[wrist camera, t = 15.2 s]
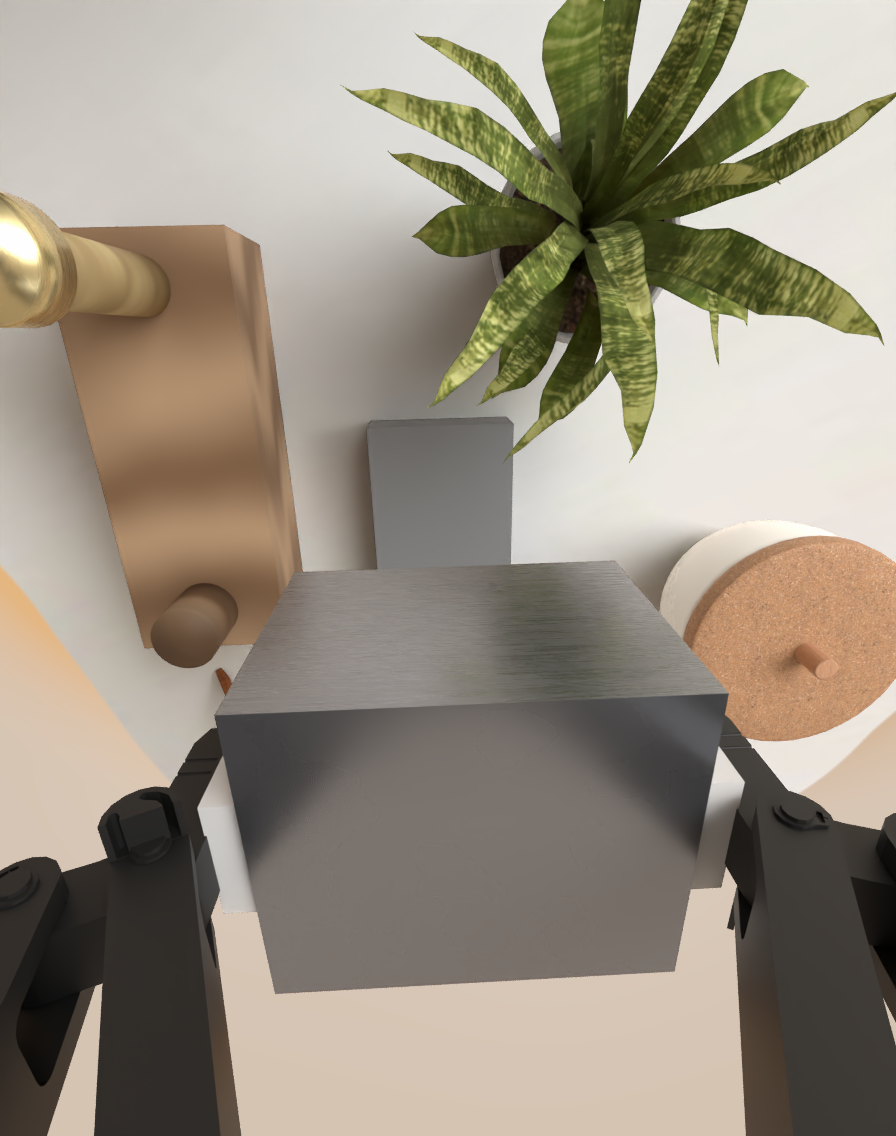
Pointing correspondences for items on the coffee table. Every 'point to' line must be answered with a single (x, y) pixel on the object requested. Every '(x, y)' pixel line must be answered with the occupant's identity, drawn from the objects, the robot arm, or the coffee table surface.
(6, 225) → the lever
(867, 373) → the coffee table surface
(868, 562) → the lidded jar
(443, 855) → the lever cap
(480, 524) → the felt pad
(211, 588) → the body
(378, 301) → the coffee table surface
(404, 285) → the coffee table surface
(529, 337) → the house plant
